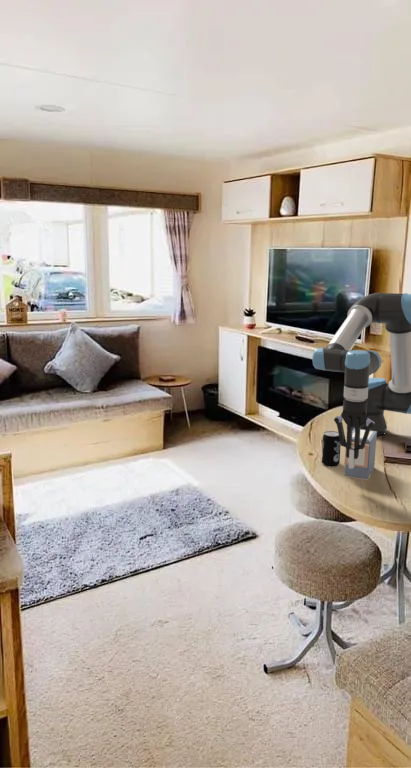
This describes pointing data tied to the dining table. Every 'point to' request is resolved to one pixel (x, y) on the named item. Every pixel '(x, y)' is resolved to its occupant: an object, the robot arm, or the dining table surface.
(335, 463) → the beverage can
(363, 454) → the stub
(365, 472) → the block
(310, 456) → the dining table surface
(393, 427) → the dining table surface
